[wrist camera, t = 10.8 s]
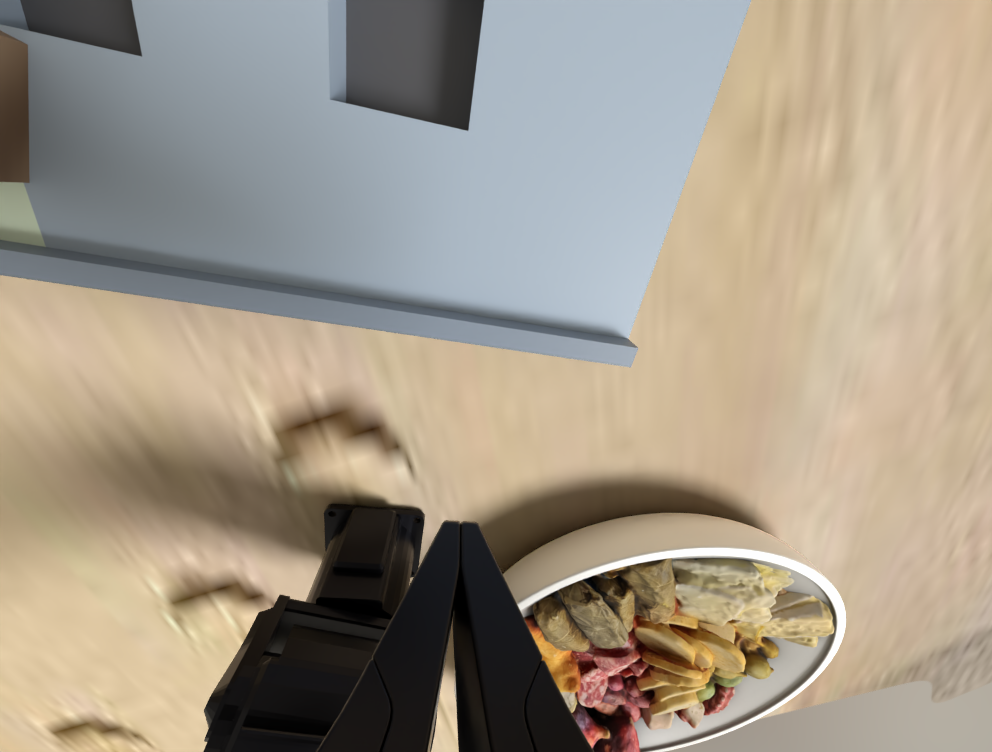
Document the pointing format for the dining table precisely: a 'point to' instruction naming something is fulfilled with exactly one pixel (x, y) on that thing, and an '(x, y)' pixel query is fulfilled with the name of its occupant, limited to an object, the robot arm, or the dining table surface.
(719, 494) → the dining table surface
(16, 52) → the block
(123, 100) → the light blue slotted tray
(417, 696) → the robot arm
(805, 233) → the dining table surface
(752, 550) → the bowl
